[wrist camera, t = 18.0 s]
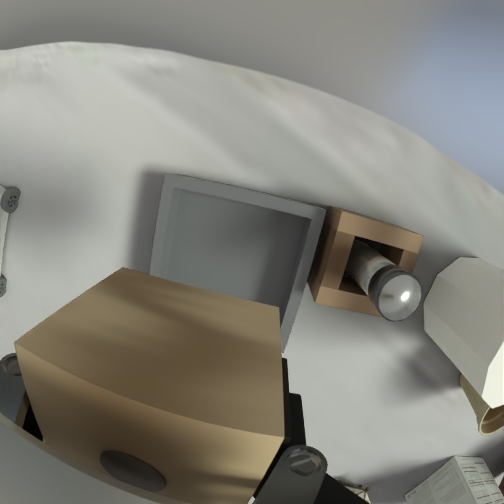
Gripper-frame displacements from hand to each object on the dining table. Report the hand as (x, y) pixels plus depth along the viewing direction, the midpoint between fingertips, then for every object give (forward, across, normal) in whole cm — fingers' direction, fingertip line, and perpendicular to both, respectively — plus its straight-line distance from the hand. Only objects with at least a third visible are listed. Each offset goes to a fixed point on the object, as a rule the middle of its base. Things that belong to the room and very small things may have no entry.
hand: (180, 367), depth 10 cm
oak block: (+1, 0, 0) cm, 1 cm away
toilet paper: (+16, -24, -1) cm, 29 cm away
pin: (+16, -10, -3) cm, 19 cm away
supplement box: (+16, -48, +34) cm, 61 cm away
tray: (+16, 0, 0) cm, 16 cm away
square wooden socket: (+16, -10, -3) cm, 19 cm away
